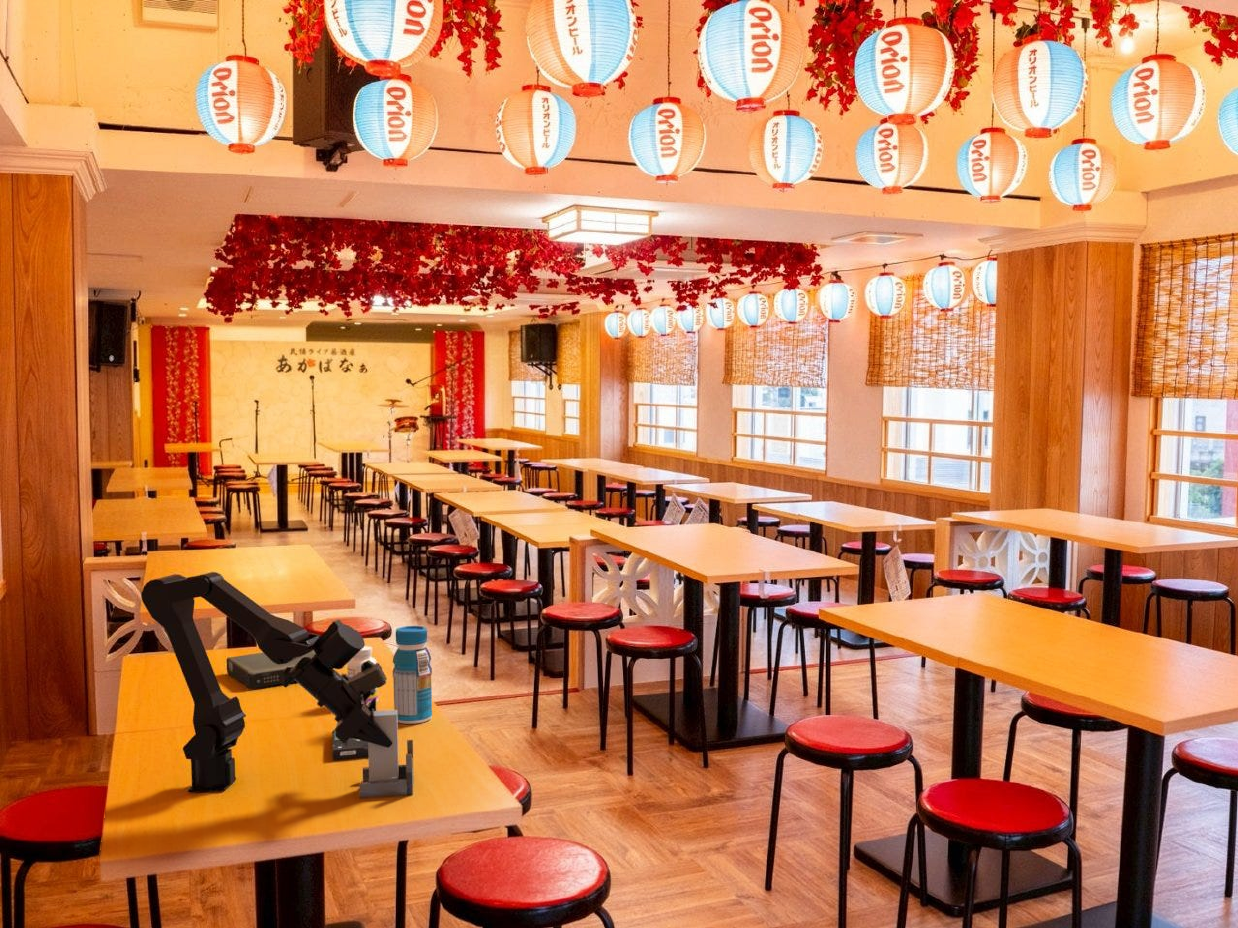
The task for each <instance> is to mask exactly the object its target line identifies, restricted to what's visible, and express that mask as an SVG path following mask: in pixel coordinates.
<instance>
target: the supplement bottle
mask: <svg viewBox="0 0 1238 928" xmlns="http://www.w3.org/2000/svg"><path fill="white" fill-rule="evenodd" d="M372 654H373V647H372V646H369V645H364V647H363V648H362V649H361V650H360V651H359V652H358V653H357V654H356V655H355V656H354V657H353V658H352V659H351V660H350V661H349V662H348V663H347V664H346V665H347V666H346V667H347V668H346V669H347V675H348V676H349V677H350V678H351V677H353V676H354V675H356V674H357V673H358V672H359V673H360V672H361V665H362V663H364V662H366V661H368V660H370V661H371V662H373V663H374V664H376V663H378V662H377V659H375V657H372ZM375 690H376V691H375V694H374V695H373V696H372V695H370V696H369V697H368V698H367V700H366V701H368V702H369V703H370V702H371V701H372V700H373V699H374V698H376V703H378V702H379V688H375ZM366 701H365V702H366Z"/></svg>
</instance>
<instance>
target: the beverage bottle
mask: <svg viewBox="0 0 1238 928" xmlns="http://www.w3.org/2000/svg"><path fill="white" fill-rule="evenodd" d="M427 629H428V628H427V627H426V626H421V625H406V626H402V627H398V628H396V629H395V643H396V646H398V648H397V649H396V651H395V652H394V655H393V657H392V663H393V666H394V667H393V669H392V679H393V705H394V706H393V710H397V714H398V724H405V725H412V724H413V725H416V724H421V723H425V722H428V721H430V720H431V719H432V717H433V702H432V701H433V695H432V693H433V692H432V689H433V687H432V683H433V682H432V674H433V668H432V666H431V661H432V657H431V653H430V651H429V649H428V648H427V646H426V644H427V643H428V630H427Z"/></svg>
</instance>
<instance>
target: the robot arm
mask: <svg viewBox="0 0 1238 928" xmlns="http://www.w3.org/2000/svg"><path fill="white" fill-rule="evenodd" d="M199 597H200V598H201V599H204V600H205V601H206V602H208V603H209V604H210V605H211V606H212V607H214V608H215V609H217V610H218V611H220V612H221V613H222V614H224V615H225V616H226V617H228V618H229V619H230V620H231V621H233V622H234V623H235V624H236V625H238V626H239V627H241V628H242V629H243V630H245V631H246V632H247V633H249V634H250V635H251V636H252V637H253V638H254V640H255V642H256V645H257V646H258V649H259V650H260V651H261V653H264V654H265V655H266V656H267V657H268V658H269V659H270V660H271V661H272V662H274V663H276V664H279V665H280V664H286V663H289V662H291V661H293V660H295V659H297V658H299V657H302V656H303V655H305V654H307V653H310V652H312V651H314V652H315V654H314V655H313V656H312V657H304V658H302V659H301V660H300V661H299V662H298V663H297V664H296V665H295V666H294V667H286V669H285V670H284V671H283V677H284V681H283V684H282V686H283V687H284V688H288V686H291V685H290V684H292V683H294V682H293V681H294V680H295V681H296V683H297V684H299V685H300V686H301V688H303V689H304V690H305V691H306V692H307V693H308V694H310V695H311V696H312V697H313V698H314V699H315V700H317V702H316V704H317V706H318V707H320V708H322V707H324V708H326V709H327V711H329V712H330V713H331V714H332V715H334V716H335V718H334V721H336V726H335V728H336V737H337V738H338V739H339V740H340V741H342V742H343V743H345V742H346V741H347V740H348V739H349V738H350V739H351V738H354V739H358V740H362V741H366V742H369V743H373V744H377V745H380V746H384V747H387V748H389V747H390V746H391V745H392V741H391V740H390V739H389V737H388V736H387V735H386V734H385V732H384V731H383V730H382V729H381V728H380V726H379V725H378V724H377V723H376V721H375V720H374V711H377V702H376V698H374V699H373V700H372V701H371V702H370V703H369V702H368V701H366V700H367V698H368V697H369V696H370V695H372V696H373V695H374V694H375V691H376V690H375V688H378V689H379V688H381V687H384V685H386V683H387V679H388V678H387V677H386V674H385V672H384V671H383V667H382V665H380V663H379V662H377V663H376V664H374V663H373V662H371V661H370V660H368V661H366V662H364V663H362V665H361V672H360V673H359V672H358V673H357V674H356V675H354V676H353V677H351V678H350V677H349V676H348V673H339V672H338V670H341V669H343V668H345V666H346V665H347V664H348V662H349V661H350V660H351V659H352V658H353V657H354V656H355V655H356V654H357V653H358V652H359V651H360V650H361V649H362V648H363V647H364V646H366V644H365V640H364V638H363V636H362V634H361V633H360V632H359V631H358V630H357V629H354V628H353V627H352V626H350V625H348V624H345V623H343V622H342V621H341V619H337V620H335V621H333V622H331V623H330V624H329V626H328V627H327V629H326V630H325V631H324V632H323V633H322V634H321V635H320V634H316V633H312V632H309V631H307V629H306V628H305V627H303V626H301V625H299V624H297V623H295V622H293V621H291V620H289V619H286V618H281V617H279V616H277V615H276V616H275V614H274V615H273V614H271V613H270V612H268V611H267V610H266V609H265V608H263V607H262V606H260V605H259V604H258V603H256V602H255V601H254V600H252V599H251V598H250V597H249V596H247V595H246V594H244V593H243V592H242V591H241V590H239V589H238V588H237V587H235V586H234V585H233V584H231V583H230V582H229V581H227V580H225V578H224V576H223V575H222V574H220V573H219V572H217V571H211V572H207V573H203V574H200V575H194V576H188V577H185V576H183V575H181V574H178V573H177V574H175V573H174V574H171V575H166V576H162V577H158V578H154V579H151V580H149V581H147V582H146V583H145V584H144V585H143V588H142V590H141V592H140V598H141V601H142V603H143V605H144V607H145V609H146V611H147V612H148V614H149V615H150V617H151V618H152V619H153V620H154V621H155V622H156V623H157V624H158V625H160V626H161V627H162V628H163V629H164V630H165V632H166V634H167V637H168V641H169V642H170V645H171V647H172V650H173V653H174V655H175V657H176V660H177V662H178V665H179V669H180V671H181V673H182V676H183V678H184V680H185V683H186V686H187V688H188V690H189V694H190V695H191V699H192V701H193V713H192V714H193V716H192V725H193V728H194V729H193V731H194V735H193V736H192V737H191V738H190V739H189V740H188V741H187V743H185V745H184V746H183V747H182V751H183V754H184V757H185V759H186V760H190V770H191V771H190V772H191V773H190V775H191V785H190V786H189V787H188V788H187V792H189V793H198V792H199V793H200V792H201V793H202V792H203V793H206V792H211V793H212V792H213V793H214V792H217V793H218V792H224V791H226V790H227V789H228V788H229V787H230V786H231V785H232V784H234V782H236V780H237V776H236V760H235V759H236V758H234V757H233V753H232V752H233V751H232V747H233V748H234V747H235V746H236V745H237V742H238V740H239V738H240V737H241V735H242V734H243V732H244V729H245V727H246V722H245V717H246V716H247V714H246V713H245V712H244V711H243V709H242V706H241V703H240V702H241V701H240V699H239V698H238V696H237V695H236V696H235V695H234V696H233V697H231V698H230V697H229V696H227V695H226V694H225V693H224V692H223V690H222V689H221V686H220V684H219V682H218V679H217V676H216V674H215V671H214V668H213V667H212V664H211V661H210V659H209V656H208V653H207V650H206V648H205V646H204V643H203V641H202V637H201V636H200V633H199V631H198V628H197V626H196V623H195V620H194V611H195V599H197V598H199ZM365 701H366V702H365Z"/></svg>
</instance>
